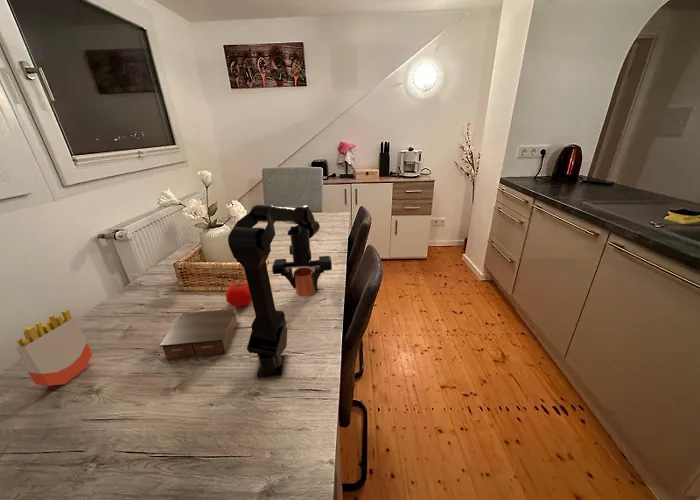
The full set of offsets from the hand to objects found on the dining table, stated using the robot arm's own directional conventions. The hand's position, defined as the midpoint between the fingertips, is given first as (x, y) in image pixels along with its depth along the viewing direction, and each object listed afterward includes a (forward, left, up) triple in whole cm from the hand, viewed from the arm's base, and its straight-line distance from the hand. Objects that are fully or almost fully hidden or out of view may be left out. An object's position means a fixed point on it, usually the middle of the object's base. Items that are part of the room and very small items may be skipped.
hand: (304, 287), depth 94 cm
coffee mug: (+16, -1, -10) cm, 19 cm away
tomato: (+9, +24, -10) cm, 28 cm away
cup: (0, 0, -2) cm, 2 cm away
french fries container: (-19, +63, -10) cm, 67 cm away
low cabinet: (-10, +31, -10) cm, 34 cm away
